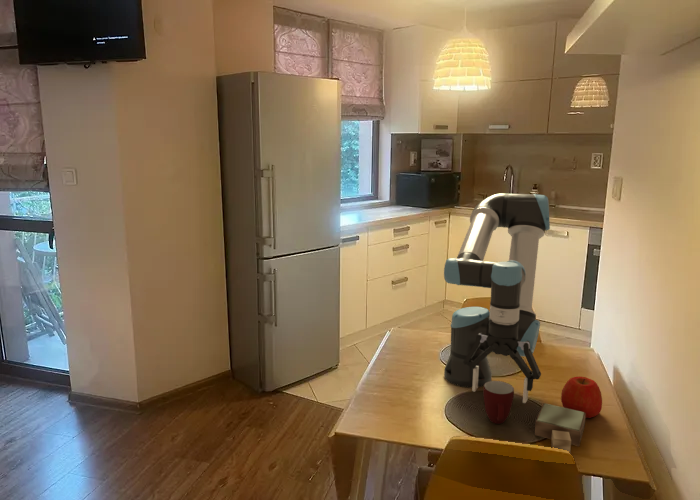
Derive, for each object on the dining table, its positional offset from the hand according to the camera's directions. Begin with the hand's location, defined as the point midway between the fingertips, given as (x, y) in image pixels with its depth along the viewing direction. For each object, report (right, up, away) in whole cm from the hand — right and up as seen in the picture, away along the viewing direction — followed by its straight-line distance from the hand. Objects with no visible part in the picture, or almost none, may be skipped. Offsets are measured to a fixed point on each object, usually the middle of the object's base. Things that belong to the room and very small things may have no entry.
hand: (499, 395), depth 144 cm
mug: (0, -8, +2) cm, 9 cm away
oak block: (+12, -11, -10) cm, 20 cm away
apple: (+25, -7, +7) cm, 27 cm away
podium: (+16, -9, -2) cm, 18 cm away
